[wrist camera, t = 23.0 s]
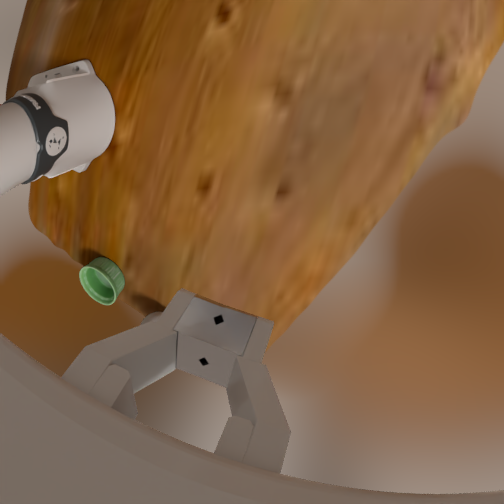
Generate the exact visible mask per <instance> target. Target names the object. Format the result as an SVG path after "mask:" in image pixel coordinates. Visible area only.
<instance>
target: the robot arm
mask: <svg viewBox="0 0 504 504" xmlns="http://www.w3.org/2000/svg"><path fill="white" fill-rule="evenodd" d="M78 68H79V69H78ZM114 127H115V111H114V105H113V101H112V98H111V95H110V93H109V91H108V89H107V88H106V86H105V85H104V84H103V82H102V81H101V80H100V79H99V78H98V77H97V76H96V74H95V72H94V69H93V67H92V64H91V62H90V61H89V60H82V61H78V62H75V63H71V64H68V65H64V66H61V67H58V68H55V69H51V70H48V71H45V72H42V73H39V74H37V75H34V76H32V77H31V79H30V81H29V84H28V88H26V89H23V90H19V91H17V92H16V94H15V96H14V97H12V98H10V99H9V100H7V101H6V102H4V103H3V104H2V105H1V104H0V197H1V196H2V195H4V194H5V193H7V192H8V191H9V190H11V189H13V188H15V187H16V186H18V185H19V184H27V183H29V182H31V181H35V180H37V179H39V178H40V177H41V176H43V175H44V176H47V177H48V178H53V177H55V176H58V175H60V174H63V173H65V172H67V171H70V170H72V169H73V170H75V171H76V172H83V171H85V170H86V169H87V167H88V166H89V164H90V162H91V161H92V160H93V159H94V158H96V157H98V156H99V155H101V154H102V153H103V152H104V151H105V150H106V148H107V147H108V145H109V143H110V141H111V139H112V136H113V132H114ZM257 317H258V318H257ZM273 325H274V321H271V320H268V319H265V318H262V317H259V316H256V315H253V314H250V313H247V312H244V311H241V310H238V309H235V308H232V307H229V306H226V305H223V304H221V303H218V302H216V301H213V300H211V299H208V298H206V297H203V296H201V295H198V294H195V293H192V292H190V291H187V290H185V289H183V288H182V289H180V290H179V291H178V292H177V293H176V295H175V296H174V297H173V299H172V300H171V302H170V303H169V304H168V306H167V307H166V309H165V310H164V312H163V313H162V314H161V316H160V317H159V319H158V320H157V322H156V323H155V322H153V321H150V322H148V323H145V324H142V325H140V326H137V327H135V328H132V329H130V330H127V331H125V332H122V333H119V334H117V335H114V336H112V337H109V338H107V339H104V340H101V341H99V342H96V343H93V344H91V345H88V346H86V347H85V348H84V349H83V350H82V352H81V353H80V354H79V355H78V356H77V358H76V359H75V360H74V362H73V363H72V364H71V365H70V367H69V368H68V369H67V371H66V372H65V373H64V374H63V376H62V377H59V376H58V375H56V374H55V373H53V372H52V371H50V370H49V369H47V368H46V367H45V366H43V365H41V364H40V363H39V362H37V361H36V360H35V359H33V358H32V357H31V356H29V355H28V354H26V353H25V352H24V351H22V350H21V349H20V348H19V347H17V346H16V345H15V344H13V343H12V342H11V341H9V340H8V339H7V338H6V337H5V336H3V335H2V334H1V333H0V504H504V490H499V491H490V492H479V493H463V494H462V493H460V494H413V493H396V492H384V491H373V490H365V489H357V488H349V487H342V486H337V485H331V484H325V483H320V482H315V481H310V480H305V479H301V478H296V477H291V476H288V475H283V474H280V472H281V468H282V465H283V461H284V457H285V453H286V450H287V446H288V442H289V437H290V433H291V431H290V428H289V426H288V423H287V420H286V418H285V415H284V412H283V410H282V407H281V405H280V402H279V399H278V396H277V394H276V391H275V388H274V386H273V383H272V381H271V377H270V375H269V372H268V369H267V367H266V365H264V364H262V363H261V362H262V359H263V356H264V353H265V350H266V347H267V344H268V341H269V338H270V335H271V332H272V328H273ZM175 368H177V369H180V370H182V371H185V372H187V373H190V374H193V375H195V376H198V377H201V378H203V379H205V380H208V381H210V382H213V383H215V384H218V385H220V386H223V387H225V388H227V389H226V390H227V395H228V399H229V404H230V408H231V413H232V417H229V418H228V421H227V423H226V425H225V428H224V431H223V433H222V435H221V438H220V440H219V442H218V445H217V447H216V450H215V452H214V453H211V452H208V451H206V450H203V449H201V448H198V447H195V446H193V445H190V444H188V443H185V442H182V441H180V440H178V439H175V438H173V437H171V436H168V435H166V434H164V433H162V432H160V431H157V430H155V429H153V428H151V427H149V426H146V425H144V424H142V423H140V422H138V421H136V420H134V419H135V417H136V416H137V414H138V412H137V407H136V403H135V398H134V393H135V392H137V391H139V390H141V389H143V388H144V387H146V386H148V385H150V384H151V383H153V382H155V381H156V380H158V379H160V378H162V377H163V376H165V375H167V374H168V373H170V372H172V371H173V370H175Z"/></svg>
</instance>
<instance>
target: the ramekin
mask: <svg viewBox="0 0 504 504" xmlns="http://www.w3.org/2000/svg"><path fill="white" fill-rule="evenodd" d="M79 277H80V281H81V284H82V286H83V288H84V289H85V291H86V292H87V293H88V294H89V295H90V296H91V297H92V298H93V299H94V300H95V301H97V302H99V303H101V304H104V305H111V304H113V303H114V302H115V300H116V298H117V296H118V295H119V293H120V292H121V291H122V289H123V288H124V285H125V280H124V276H123V274H122V272H121V270H120V269H119V267H118V266H117V265H116V264H115V263H114V262H112V261H111V260H109V259H107V258H105V257H98V258H96V259H95V260H93V261H92V262H90V263H89V264H88V265H86V266H84V267H83V268H82V269H81V270H80V273H79Z"/></svg>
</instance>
